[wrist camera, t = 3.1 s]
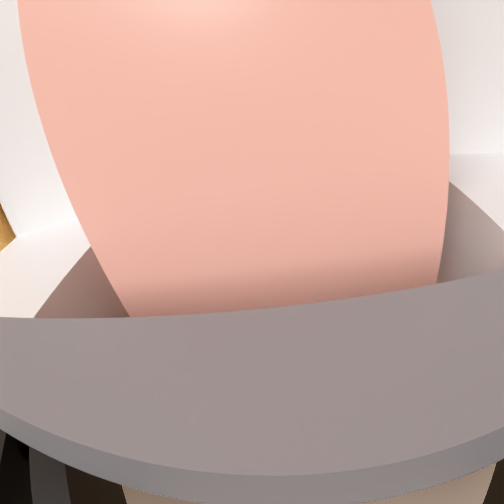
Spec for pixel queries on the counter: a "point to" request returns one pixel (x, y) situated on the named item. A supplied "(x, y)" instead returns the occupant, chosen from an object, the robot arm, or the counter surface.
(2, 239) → the counter surface
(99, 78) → the pink rectangular block
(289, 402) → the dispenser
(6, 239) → the counter surface
